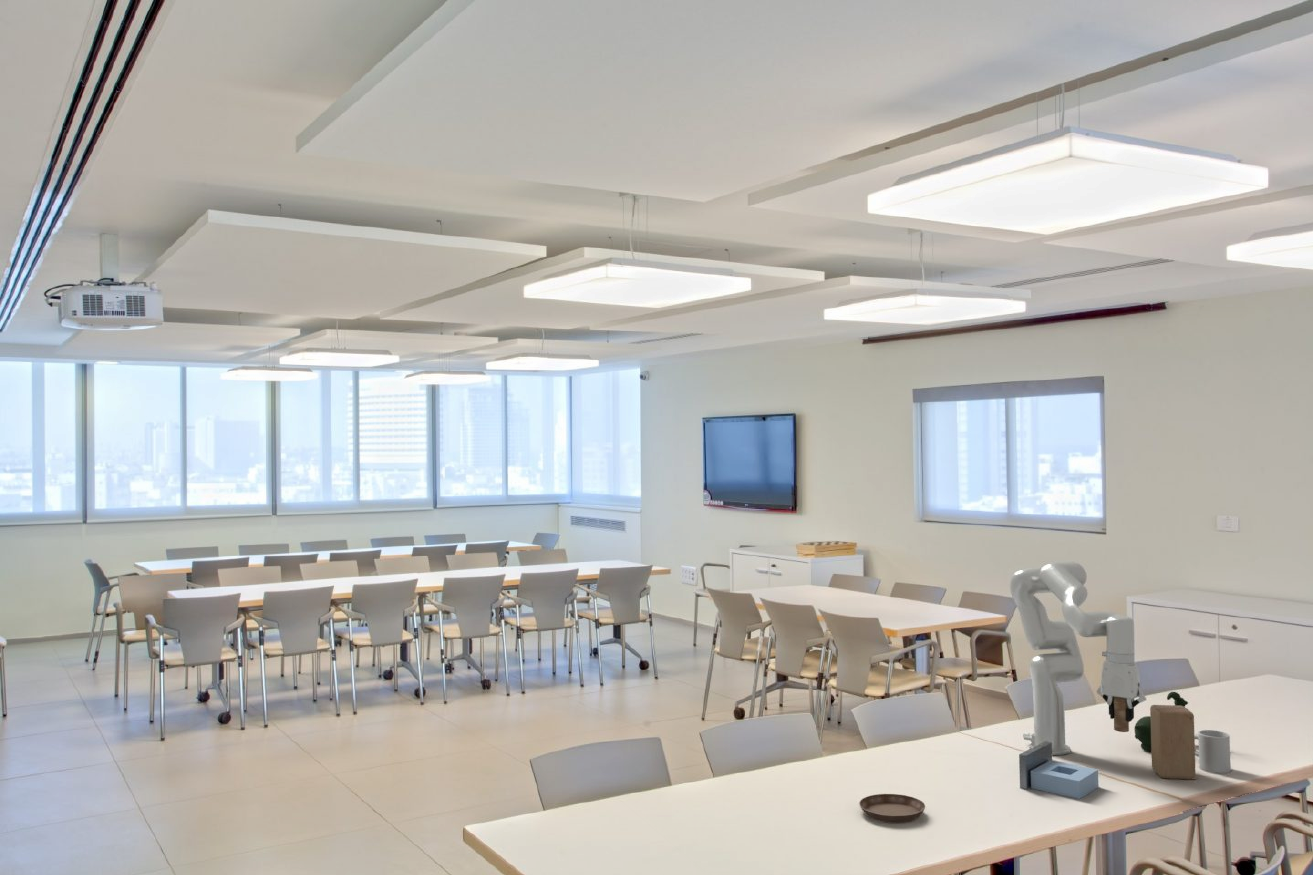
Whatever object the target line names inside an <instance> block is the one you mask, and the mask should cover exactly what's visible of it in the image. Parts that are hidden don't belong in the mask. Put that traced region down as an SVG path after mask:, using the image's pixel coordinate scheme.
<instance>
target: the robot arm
mask: <svg viewBox="0 0 1313 875" xmlns="http://www.w3.org/2000/svg"><path fill="white" fill-rule="evenodd" d="M1086 582H1087V571H1086V569H1085V568H1084V567H1083V566H1082V565H1081V564H1080V563H1078V562H1075V561H1064V562H1059V561H1058V562H1050V563H1047V564H1045V565H1044V566H1042V567H1034V568H1033V567H1032V568H1030V567H1029V568H1024V569H1020V570H1017V571H1016V572H1014V573H1013V574H1012V576H1011V578H1010V582H1009V589H1010V594H1011V597H1012V600H1013V601H1014V603H1015V605H1016V607H1017V609H1018V612H1019V616H1020V617H1019V618H1020V620H1021V624H1022V628H1023V632H1024V635H1025V636H1024V637H1025V639H1026V641H1027V644H1028V647H1030V649H1031V650H1034V651H1053V650H1057V652H1052V653H1042V654H1037V655H1035V656H1034V657H1032V658H1031V660H1030V662H1029V673H1030V677H1031V683H1032V684H1031V685H1032V697H1033V700H1032V702H1033V729H1034V730H1033V731H1034V733H1030V732H1024V733H1023V740H1026V741H1030V744H1029V749H1031V748H1033V747H1035V746H1037V745H1039V744H1041V743H1043V742H1045V741H1047V742H1052V756H1062V755H1063V756H1064V755H1068V754H1070V753H1071V747H1070V746H1069V745H1068V744H1066V718H1065V715H1066V714H1065V696H1064V693H1063V691H1062V690H1061V688H1060V687H1059V685H1058V684H1060V683H1067V682H1069V683H1070V682H1077V681H1079V680H1081V679H1082V678H1083V676H1084V672H1085V668H1084V666H1085V665H1084V663H1083V662H1084V661H1083V658H1082V655H1081V654H1082V653H1081V651H1080V647H1079V644H1078V641H1077V637H1076V634H1078V635H1079V636H1081V637H1083V638H1097V637H1098V638H1099V637H1106V651H1102V652H1101V656H1102V657H1105V660H1104V661H1103V664H1102V667H1101V668H1102V670H1101V679H1100V686H1099V687H1098V689H1097V690H1096V694H1098V695H1099V696H1100V697H1102V699H1103V700H1104V701H1105V702H1106V704H1107V705H1108V716H1110V717H1109V718H1110V720H1114V697H1120V698H1126V699H1127V704H1128V708H1126V721H1127V722H1129V723H1130V722H1132V721H1133V719H1134V718H1135V707H1137V705H1138V704H1140V703H1143V702H1144V701H1146V700H1147V697H1146V696H1145V694H1144V693H1143V691H1142V689H1141V677H1140V672H1139V668H1138V664H1137V663H1136V662H1135V661H1136V660H1135V657H1136V656H1135V652H1136V651H1135V621H1134V620H1133V618H1131V617H1130V616H1128V615H1127V616H1126V615H1121V614H1119V613H1117V612H1115V611H1112V610H1103V611H1086V612H1085V611H1083V610H1082V609H1081V608H1080V606H1082V605H1083V604H1084V603H1085V602H1086V600H1087V598H1088V594H1089V592H1088V589H1087V588H1086V586H1084V585H1085V584H1086ZM1036 594H1054V596H1055V597H1057V599H1058V600H1059V601H1060V602H1061V603H1062V606H1061V610H1062V616H1063V617H1064V620H1050V619H1049V617H1048V613H1047V610H1046V607H1045V604H1043V602H1041V600H1040V599H1039V598H1038V597H1037V596H1035V595H1036ZM1075 633H1076V634H1075ZM1135 698H1137V699H1135Z"/></svg>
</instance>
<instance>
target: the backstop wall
mask: <svg viewBox="0 0 1313 875" xmlns="http://www.w3.org/2000/svg"><path fill="white" fill-rule="evenodd" d="M1018 758H1019V760H1018V761H1019V762H1018V764H1019V765H1018V766H1019V768H1018V769H1019V789H1021V790H1022V789H1023V790H1028V789H1030V788H1031V771H1032V770H1033V769H1035V768H1037V767H1039V766H1041V765H1043V764H1045V763H1046V762H1048V761H1050V760H1053V755H1052V742H1047V741H1045V742H1043V743H1041V744H1039V745H1037V746H1035V747H1033V748H1031V749H1030V748H1029V749H1028V750H1025V751H1022V752H1021V753H1019V754H1018Z"/></svg>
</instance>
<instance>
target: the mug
mask: <svg viewBox="0 0 1313 875" xmlns="http://www.w3.org/2000/svg"><path fill="white" fill-rule="evenodd" d="M1194 737H1195V740H1197V741H1198V751H1197V750H1196V749H1195V757H1197V758H1198V767H1199V769H1200V770H1202V771H1204V772H1206V773H1212V774H1220V775H1221V774H1222V775H1223V774H1229V773H1230V772H1231V771H1232V770H1231V768H1232V766H1231V741H1230V740H1231V738H1230V737H1231V736H1230V734H1228V733H1227V732H1224V731H1220V730H1213V729H1204V730H1203V729H1202V730H1200V731H1198V734H1196V733H1194Z"/></svg>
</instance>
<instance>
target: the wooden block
mask: <svg viewBox="0 0 1313 875" xmlns="http://www.w3.org/2000/svg"><path fill="white" fill-rule="evenodd" d="M1149 709H1150V714H1149V716H1150V717H1151V752H1150V753H1151V767H1152V769H1153V771H1154V772H1155V773H1156V774H1157V775H1158V776H1159V777H1160V778H1162V779H1173V780H1174V779H1175V780H1176V779H1177V780H1195V779H1196V776H1197V775H1196V756H1195V750H1196V746H1195V745H1196V743H1195V742H1196V739H1195V737H1194V734H1195V715H1194V713H1193V712H1192V711H1191V710H1189V709H1188V708H1187V707H1186V706H1185V707H1184V706H1176V705H1175V704H1173V705H1172V704H1171V705H1170V704H1168V705H1167V704H1166V705H1165V704H1152V705H1150V707H1149Z"/></svg>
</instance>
